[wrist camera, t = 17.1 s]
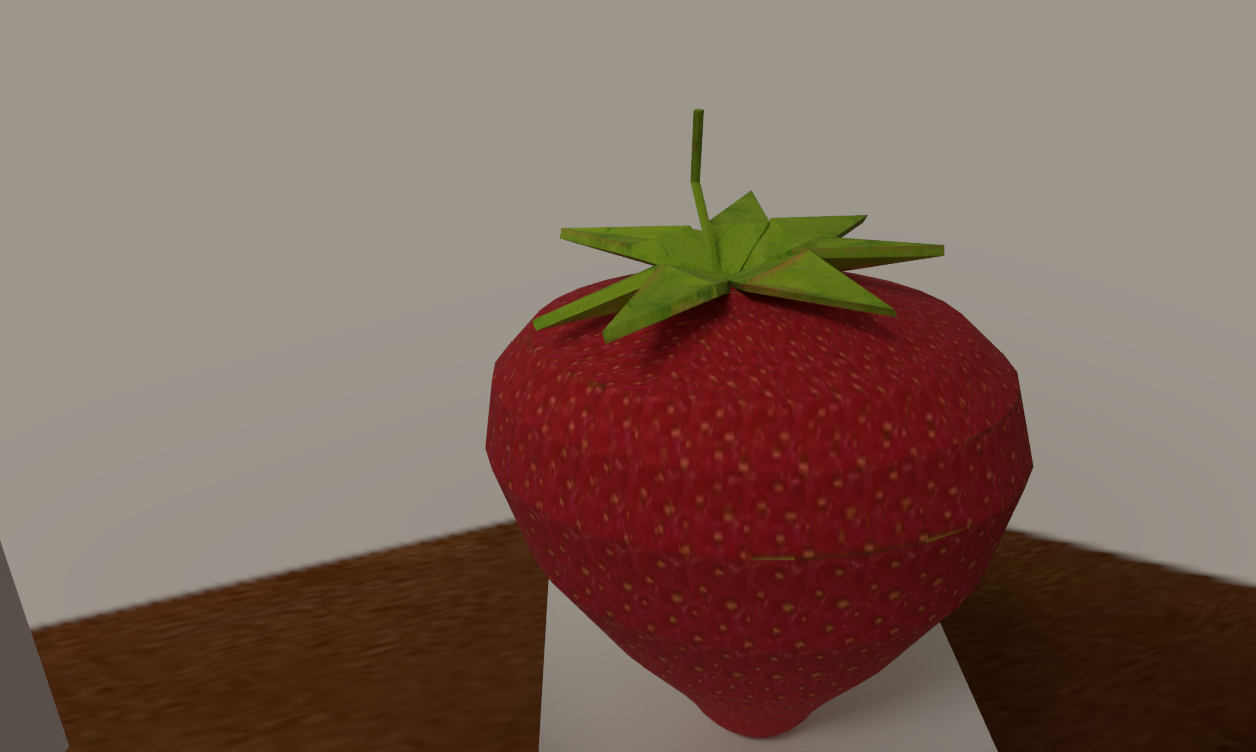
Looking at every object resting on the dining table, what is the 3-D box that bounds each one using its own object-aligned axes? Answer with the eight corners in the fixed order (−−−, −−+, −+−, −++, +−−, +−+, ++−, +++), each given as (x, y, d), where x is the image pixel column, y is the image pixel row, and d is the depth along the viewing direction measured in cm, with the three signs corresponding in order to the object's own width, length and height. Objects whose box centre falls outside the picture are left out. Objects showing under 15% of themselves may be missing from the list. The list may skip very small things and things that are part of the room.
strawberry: (989, 947, 15) (1057, 169, 11) (455, 820, 17) (339, 150, 13) (1018, 657, 20) (1071, 48, 16) (599, 591, 22) (549, 51, 18)
